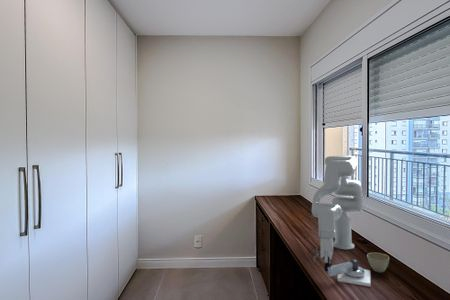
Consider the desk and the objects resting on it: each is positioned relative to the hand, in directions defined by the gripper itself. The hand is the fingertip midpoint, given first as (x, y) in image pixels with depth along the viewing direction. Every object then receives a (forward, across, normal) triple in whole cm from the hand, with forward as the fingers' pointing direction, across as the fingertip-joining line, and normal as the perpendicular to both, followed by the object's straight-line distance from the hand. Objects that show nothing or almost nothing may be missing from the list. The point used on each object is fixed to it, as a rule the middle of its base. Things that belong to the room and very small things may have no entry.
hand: (328, 270), depth 137 cm
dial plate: (+4, -7, +11) cm, 14 cm away
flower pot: (+5, -19, +22) cm, 29 cm away
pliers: (+5, -27, -9) cm, 29 cm away
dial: (+3, -3, +7) cm, 9 cm away
